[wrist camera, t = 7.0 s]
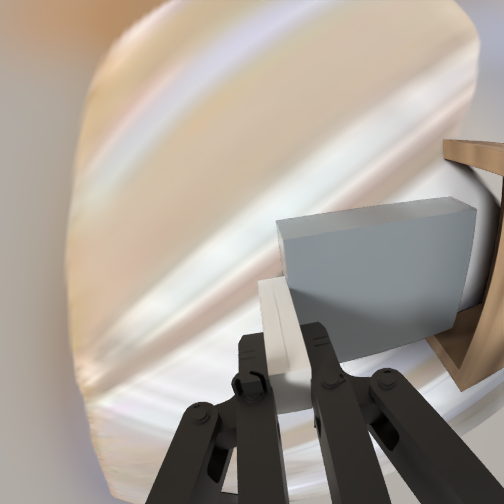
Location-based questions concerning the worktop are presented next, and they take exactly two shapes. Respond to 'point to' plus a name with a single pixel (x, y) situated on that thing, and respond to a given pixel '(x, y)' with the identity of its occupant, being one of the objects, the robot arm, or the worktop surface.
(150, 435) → the worktop surface
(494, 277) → the tan wooden channel
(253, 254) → the worktop surface
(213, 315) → the worktop surface
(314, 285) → the tile
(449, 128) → the worktop surface
